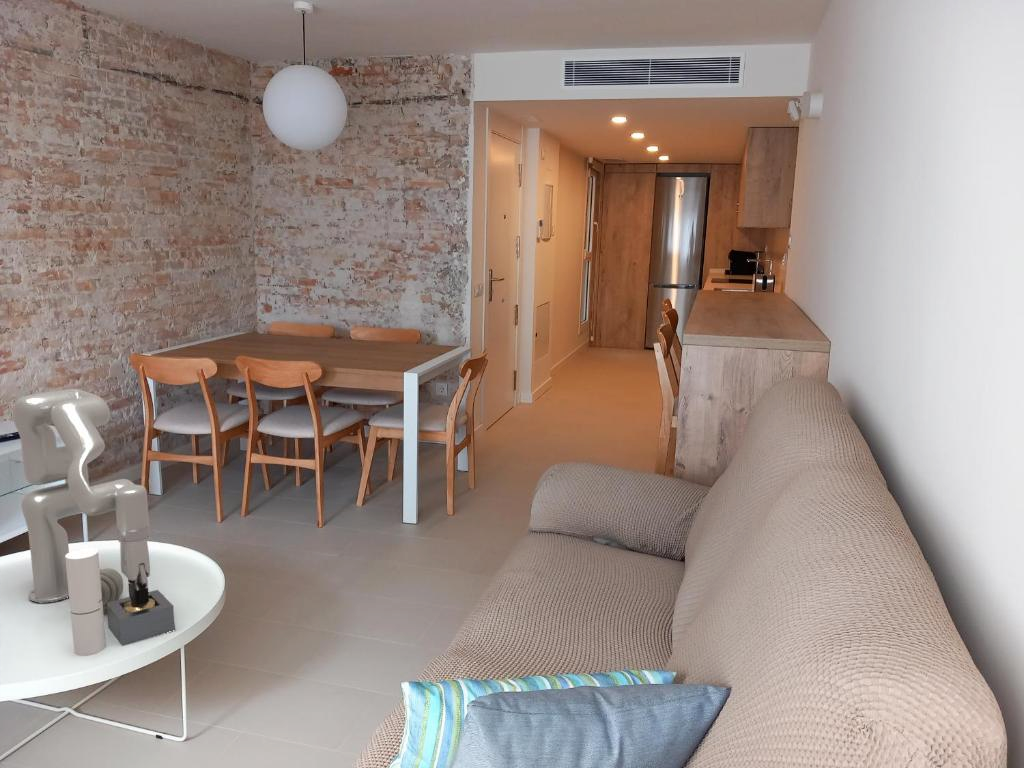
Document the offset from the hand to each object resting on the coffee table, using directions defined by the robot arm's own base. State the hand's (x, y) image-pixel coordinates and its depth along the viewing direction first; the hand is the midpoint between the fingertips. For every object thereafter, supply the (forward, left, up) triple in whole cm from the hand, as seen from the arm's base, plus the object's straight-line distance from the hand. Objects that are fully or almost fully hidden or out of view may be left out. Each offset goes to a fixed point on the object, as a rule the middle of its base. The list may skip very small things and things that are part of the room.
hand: (139, 599), depth 215 cm
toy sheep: (-20, -4, -9) cm, 22 cm away
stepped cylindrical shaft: (0, 0, -7) cm, 7 cm away
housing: (0, 0, -8) cm, 8 cm away
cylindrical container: (+3, -13, -9) cm, 16 cm away
